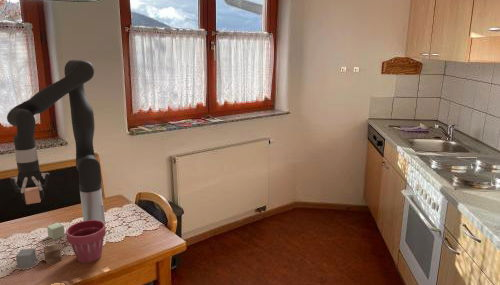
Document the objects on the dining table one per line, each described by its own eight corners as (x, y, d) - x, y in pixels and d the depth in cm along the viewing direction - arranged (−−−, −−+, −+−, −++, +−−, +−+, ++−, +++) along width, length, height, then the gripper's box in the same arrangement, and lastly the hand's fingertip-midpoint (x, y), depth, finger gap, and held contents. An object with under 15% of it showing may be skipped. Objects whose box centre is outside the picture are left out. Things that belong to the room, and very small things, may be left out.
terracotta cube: (41, 197, 163) (39, 186, 161) (40, 202, 158) (38, 190, 157) (27, 199, 161) (25, 188, 159) (26, 204, 156) (24, 192, 155)
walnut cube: (58, 255, 158) (57, 243, 157) (61, 260, 154) (59, 249, 153) (45, 259, 156) (43, 247, 154) (47, 264, 152) (45, 253, 150)
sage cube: (59, 232, 177) (58, 222, 176) (65, 235, 174) (63, 225, 173) (48, 236, 174) (46, 226, 172) (53, 240, 171) (52, 229, 169)
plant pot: (86, 270, 147) (82, 239, 144) (61, 260, 154) (57, 231, 151) (115, 253, 159) (112, 224, 156) (92, 244, 166) (88, 216, 163)
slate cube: (36, 259, 155) (34, 248, 154) (32, 266, 150) (30, 255, 149) (22, 261, 154) (21, 249, 153) (17, 268, 149) (15, 256, 148)
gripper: (47, 154, 161) (53, 193, 165) (7, 159, 155) (14, 199, 160) (47, 159, 155) (52, 199, 159) (4, 164, 149) (11, 206, 153)
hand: (33, 199), depth 159 cm, fingers closed on terracotta cube, 5 cm apart
